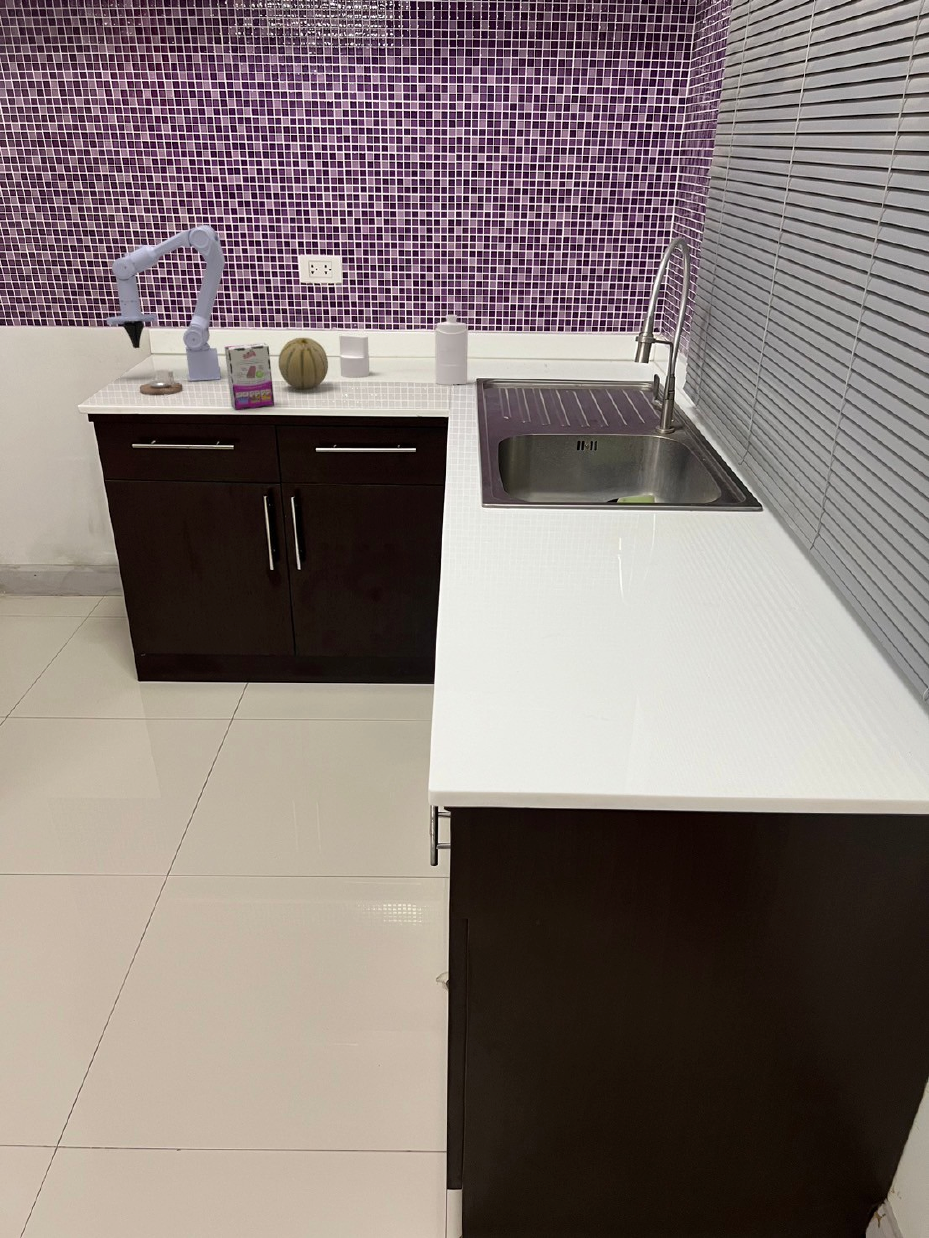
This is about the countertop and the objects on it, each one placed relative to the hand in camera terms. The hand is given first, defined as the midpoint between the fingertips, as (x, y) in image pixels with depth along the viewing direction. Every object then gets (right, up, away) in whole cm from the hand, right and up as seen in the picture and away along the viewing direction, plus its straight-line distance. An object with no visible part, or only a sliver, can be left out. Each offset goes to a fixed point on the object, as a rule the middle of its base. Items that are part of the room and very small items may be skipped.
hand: (136, 347), depth 283 cm
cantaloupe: (+52, -14, -6) cm, 55 cm away
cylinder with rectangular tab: (+65, -5, +12) cm, 67 cm away
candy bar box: (+41, -24, -26) cm, 54 cm away
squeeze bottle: (+96, -11, +1) cm, 97 cm away
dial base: (+11, -15, -10) cm, 21 cm away
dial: (+12, -14, -11) cm, 21 cm away
